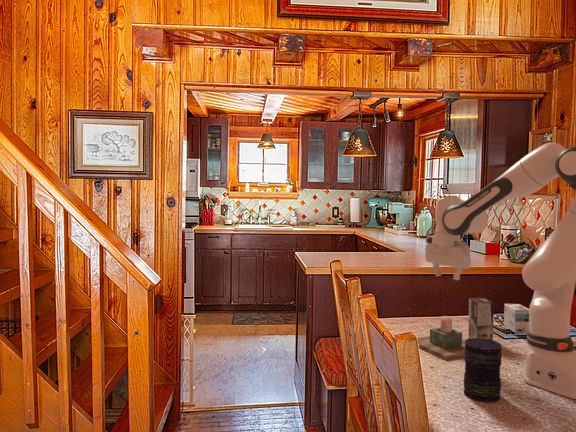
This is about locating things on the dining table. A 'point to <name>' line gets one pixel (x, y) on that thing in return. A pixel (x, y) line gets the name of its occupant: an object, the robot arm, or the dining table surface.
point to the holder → (443, 344)
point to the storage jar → (482, 369)
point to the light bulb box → (516, 318)
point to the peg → (446, 324)
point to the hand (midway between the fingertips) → (447, 277)
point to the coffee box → (481, 318)
